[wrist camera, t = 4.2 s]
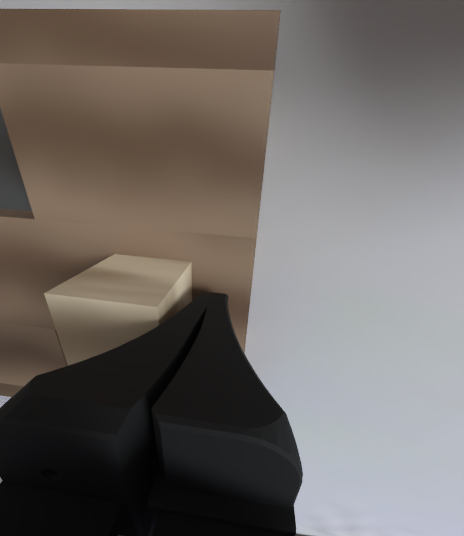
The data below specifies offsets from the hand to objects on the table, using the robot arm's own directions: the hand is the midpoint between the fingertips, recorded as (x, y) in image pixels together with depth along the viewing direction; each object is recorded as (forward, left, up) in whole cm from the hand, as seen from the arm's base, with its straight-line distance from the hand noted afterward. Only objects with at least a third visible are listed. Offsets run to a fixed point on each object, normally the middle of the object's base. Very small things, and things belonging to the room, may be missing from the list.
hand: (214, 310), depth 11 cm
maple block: (0, +3, -1) cm, 4 cm away
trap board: (0, +9, -3) cm, 10 cm away
